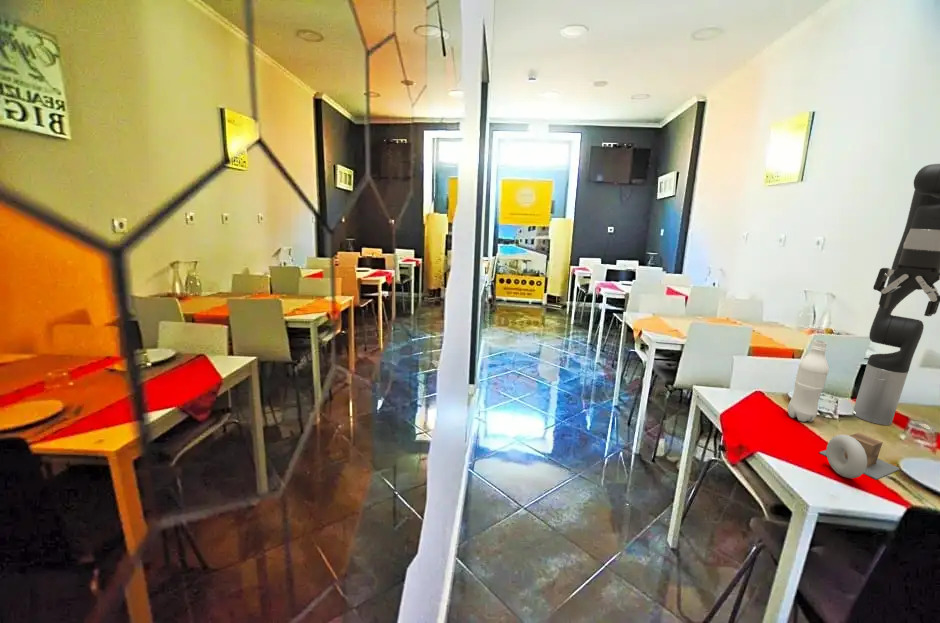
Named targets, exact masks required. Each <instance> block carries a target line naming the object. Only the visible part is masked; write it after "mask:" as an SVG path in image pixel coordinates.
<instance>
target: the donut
mask: <svg viewBox="0 0 940 623" xmlns="http://www.w3.org/2000/svg"><path fill="white" fill-rule="evenodd" d="M826 450H827V461H828V464H829V465H830V467H831V468H832V469H833V471H834V472H835V473H836V474H838V475H839V476H842V477H843V478H846V479H855V478H859V477H861V476H862V475H864V474H863V473H864V471H865V469H866V467H867V455H866V453H865V450H864V448H863V447H862V445H861V444H860V443H859V442H858V441H857V440H856V439H855V438H853V437H851V436H850V435H848V434H837V435H835V436H833V437H832V438H831V439H830V440H829V441H828V443H827V445H826ZM845 450H846V452H847V455H848V461H847V462H846V460H845V456H844V453H845Z"/></svg>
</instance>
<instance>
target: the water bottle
mask: <svg viewBox="0 0 940 623" xmlns="http://www.w3.org/2000/svg"><path fill="white" fill-rule="evenodd" d="M827 344H828V342H826V341H823V340H818V339H817V340H815V339H814V340H813V344H812V345H811V347H810V348H811V350H810V351H809V353H808V354H806V355H805V356H804V357H803V358H802V359H801V360H800V362H799V364H798V369H797V371H796V372H797V373H796V377H795V380H794V389H793V394H792V395H791V399H790V401H789V402H788V406H787V413H788V416H789V417H790V418H792V419H794V418H797V421H800V422H802V423H803V422H809V423H810V422H811V423H812V422H813V421H814V420H815V419H816V417H817V416H818V411H819V401H820V397H821V394H822V392H823V390H824V388H825V385H826V381H827V377H828V374H829V372H830V367H829V364H828V361H827V358H826V351H827Z"/></svg>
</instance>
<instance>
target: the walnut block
mask: <svg viewBox="0 0 940 623" xmlns="http://www.w3.org/2000/svg"><path fill="white" fill-rule="evenodd" d="M849 436H851V437H853V438H855V439H856V440H857V441H858V442H859V443H860V444H861V445H862V447H863V448H864V450H865V453H866V455H867V467H868V466H871V465H873V464H876V462H877V459H879V454H880V452H881V449H882V446H883V443H884V442H882V441H880V440H877V439H875V438H873V437H870V436H867V435H865V434H862V433H860V432H857V433H854V434H850V435H849ZM844 456H845V458H846V459H848V455H847V452H846V450H845V453H844Z"/></svg>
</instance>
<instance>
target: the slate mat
mask: <svg viewBox="0 0 940 623" xmlns="http://www.w3.org/2000/svg"><path fill="white" fill-rule="evenodd" d="M819 455H822V456H825V457H827V449H825V450H821V451H819ZM845 460H846V462H847V461H848V459H846V458H845ZM899 468H900V467H898V466H896V465H894V464H892V463H888V462H887V461H885V460H882V459H879V458H878V459H877V462H876V464H873V465H871V466H868V467H866V469H865V471H864V473H863V474H862V475H864V476H868V477H870V478H872V479H874V480H879V479H882V478H884V477H887V476H888V475H892V474H893V473H896V472H898V471H900V470H901V469H899Z"/></svg>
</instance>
